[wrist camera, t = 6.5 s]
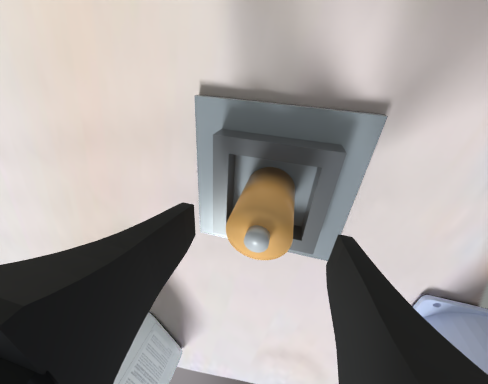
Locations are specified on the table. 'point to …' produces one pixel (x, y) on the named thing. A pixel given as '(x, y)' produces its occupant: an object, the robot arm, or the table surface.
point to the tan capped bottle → (264, 215)
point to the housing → (284, 162)
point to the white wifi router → (150, 356)
